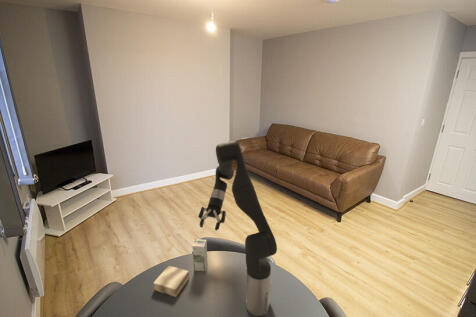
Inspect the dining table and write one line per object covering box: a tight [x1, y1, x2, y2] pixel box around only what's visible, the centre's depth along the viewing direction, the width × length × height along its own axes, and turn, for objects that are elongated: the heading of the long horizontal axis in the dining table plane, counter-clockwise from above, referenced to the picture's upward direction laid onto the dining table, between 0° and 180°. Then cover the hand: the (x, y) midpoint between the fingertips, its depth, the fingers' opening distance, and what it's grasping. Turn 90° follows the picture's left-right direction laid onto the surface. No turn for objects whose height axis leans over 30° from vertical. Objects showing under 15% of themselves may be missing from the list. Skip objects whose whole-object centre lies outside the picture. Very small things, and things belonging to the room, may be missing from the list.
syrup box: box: [192, 238, 208, 272], centre depth 112 cm, size 6×6×14 cm
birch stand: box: [153, 265, 190, 298], centre depth 104 cm, size 11×11×4 cm
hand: (208, 228), depth 119 cm, fingers open, 8 cm apart
